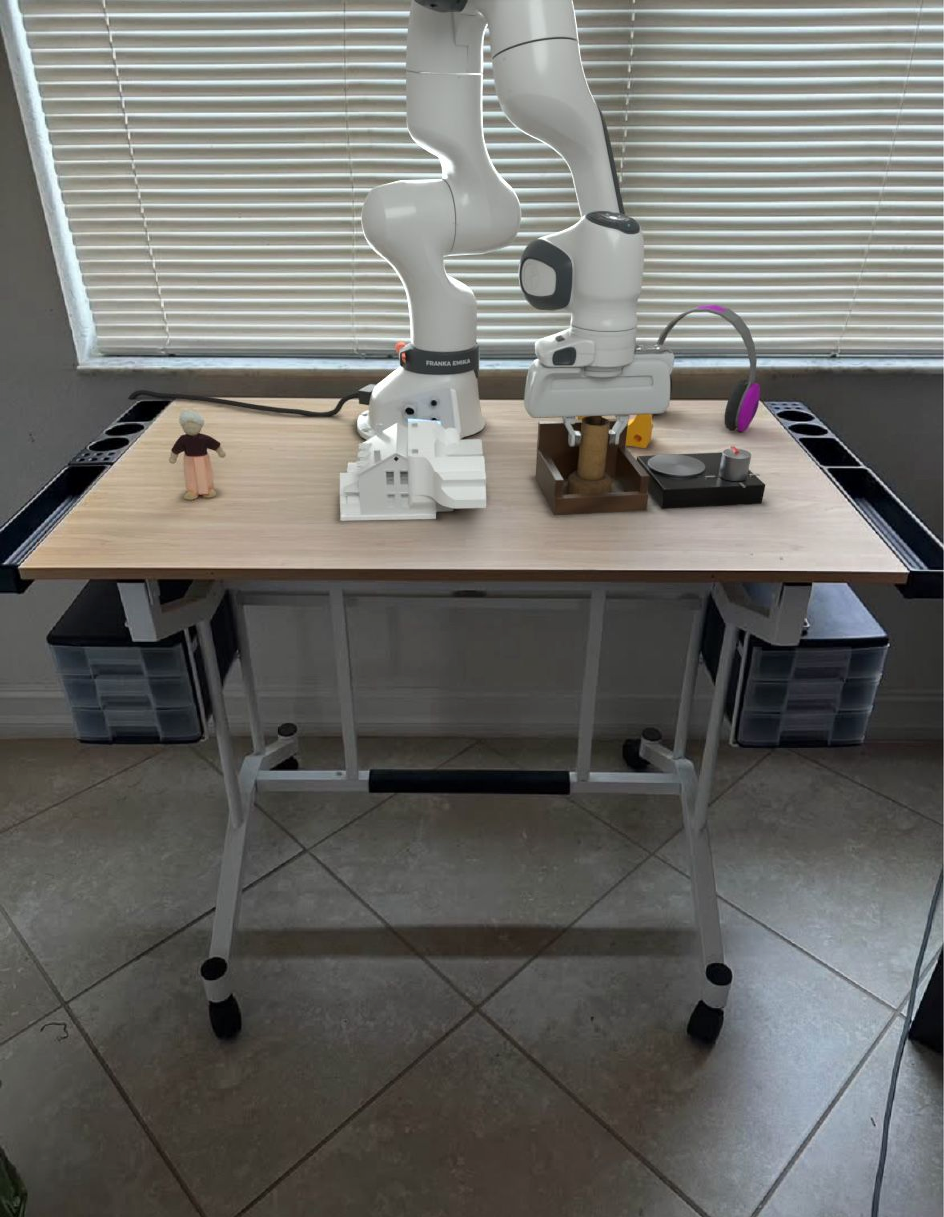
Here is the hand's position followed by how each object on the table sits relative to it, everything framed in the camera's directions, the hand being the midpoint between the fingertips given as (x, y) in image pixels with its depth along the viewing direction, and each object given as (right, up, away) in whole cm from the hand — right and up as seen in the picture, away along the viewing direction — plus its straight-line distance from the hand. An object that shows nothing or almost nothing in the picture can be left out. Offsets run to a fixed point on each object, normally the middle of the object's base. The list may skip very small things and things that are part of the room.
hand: (593, 444), depth 121 cm
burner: (+13, -2, +5) cm, 14 cm away
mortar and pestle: (0, -7, +4) cm, 8 cm away
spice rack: (0, -7, +4) cm, 8 cm away
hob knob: (+21, -4, +2) cm, 21 cm away
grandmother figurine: (-56, -7, +2) cm, 57 cm away
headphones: (+23, +10, +32) cm, 40 cm away
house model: (-26, -9, 0) cm, 27 cm away
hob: (+16, -5, +6) cm, 18 cm away
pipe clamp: (+7, +5, +24) cm, 25 cm away
